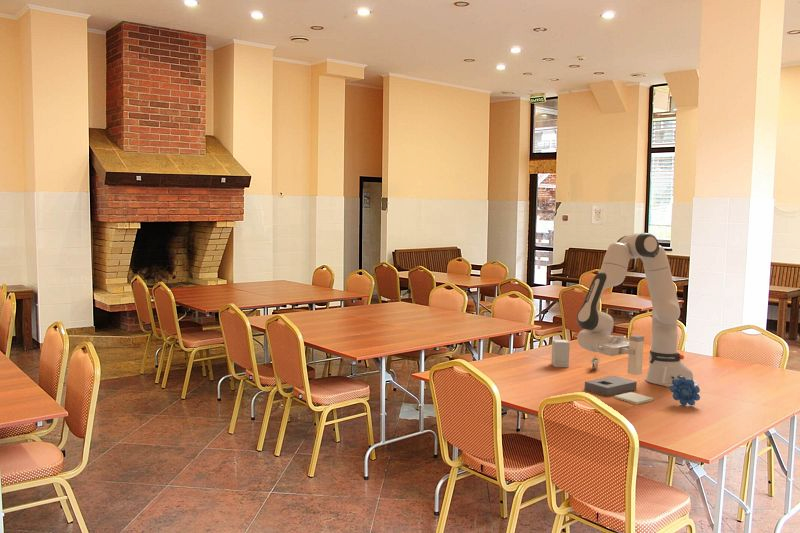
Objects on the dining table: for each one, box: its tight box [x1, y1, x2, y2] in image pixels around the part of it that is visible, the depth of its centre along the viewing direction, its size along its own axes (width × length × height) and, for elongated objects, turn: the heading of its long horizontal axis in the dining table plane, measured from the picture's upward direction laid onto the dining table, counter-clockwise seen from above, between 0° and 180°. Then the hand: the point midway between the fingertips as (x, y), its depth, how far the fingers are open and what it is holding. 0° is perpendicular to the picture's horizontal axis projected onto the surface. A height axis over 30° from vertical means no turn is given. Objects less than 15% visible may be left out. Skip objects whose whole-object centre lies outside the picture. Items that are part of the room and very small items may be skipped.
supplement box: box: [550, 339, 571, 368], centre depth 341 cm, size 7×7×13 cm
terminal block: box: [584, 375, 638, 397], centre depth 299 cm, size 20×12×4 cm, turn 125°
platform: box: [590, 355, 601, 372], centre depth 334 cm, size 12×18×7 cm, turn 159°
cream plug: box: [627, 334, 645, 376], centre depth 283 cm, size 4×4×16 cm
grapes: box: [669, 376, 701, 406], centre depth 276 cm, size 12×7×12 cm, turn 70°
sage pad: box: [614, 391, 654, 405], centre depth 284 cm, size 11×11×1 cm
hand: (637, 351), depth 282 cm, fingers closed on cream plug, 4 cm apart
